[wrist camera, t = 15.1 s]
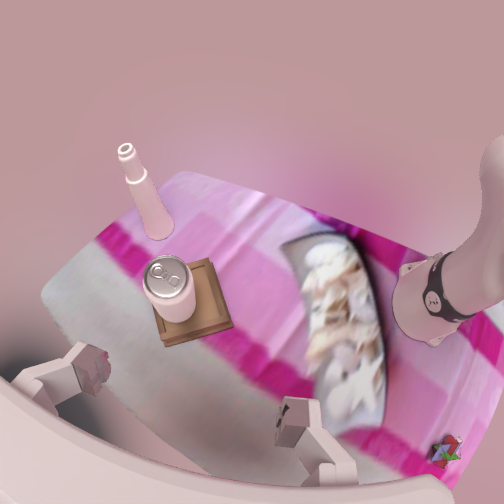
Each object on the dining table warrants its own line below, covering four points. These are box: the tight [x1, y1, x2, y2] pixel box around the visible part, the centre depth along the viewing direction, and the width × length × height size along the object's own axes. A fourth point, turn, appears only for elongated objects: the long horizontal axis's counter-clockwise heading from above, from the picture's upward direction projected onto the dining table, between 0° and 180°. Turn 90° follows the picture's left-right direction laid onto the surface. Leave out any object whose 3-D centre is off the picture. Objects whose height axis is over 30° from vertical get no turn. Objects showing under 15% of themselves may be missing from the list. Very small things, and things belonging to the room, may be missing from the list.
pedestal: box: [152, 258, 233, 347], centre depth 44 cm, size 12×12×5 cm
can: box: [143, 255, 196, 323], centre depth 37 cm, size 6×6×12 cm
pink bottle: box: [118, 143, 174, 240], centre depth 43 cm, size 6×6×22 cm
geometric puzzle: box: [431, 434, 463, 470], centre depth 32 cm, size 7×7×8 cm
